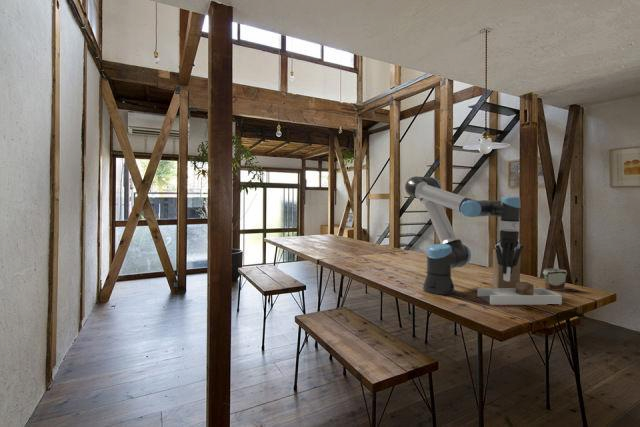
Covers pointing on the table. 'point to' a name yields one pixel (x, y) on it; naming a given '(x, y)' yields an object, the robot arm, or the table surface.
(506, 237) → the robot arm
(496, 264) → the wooden block
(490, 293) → the white tray
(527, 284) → the walnut cube
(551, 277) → the food container
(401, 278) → the table surface
